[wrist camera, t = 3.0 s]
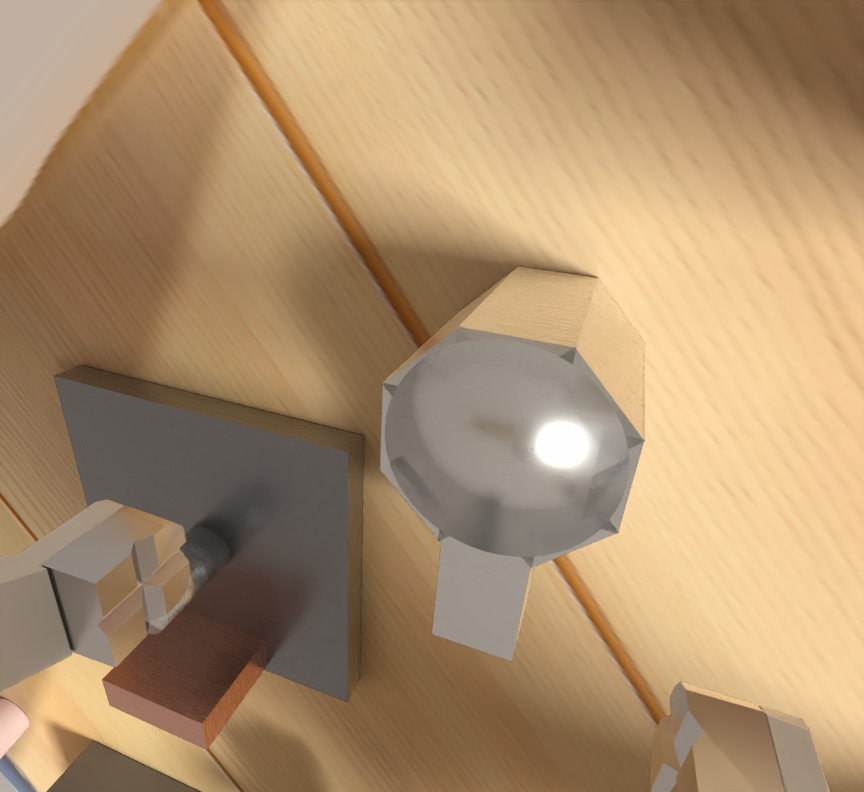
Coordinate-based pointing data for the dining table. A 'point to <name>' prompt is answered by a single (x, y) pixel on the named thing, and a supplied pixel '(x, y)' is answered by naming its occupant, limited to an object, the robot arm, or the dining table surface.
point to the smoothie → (10, 724)
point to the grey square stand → (228, 544)
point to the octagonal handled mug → (515, 441)
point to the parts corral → (112, 774)
